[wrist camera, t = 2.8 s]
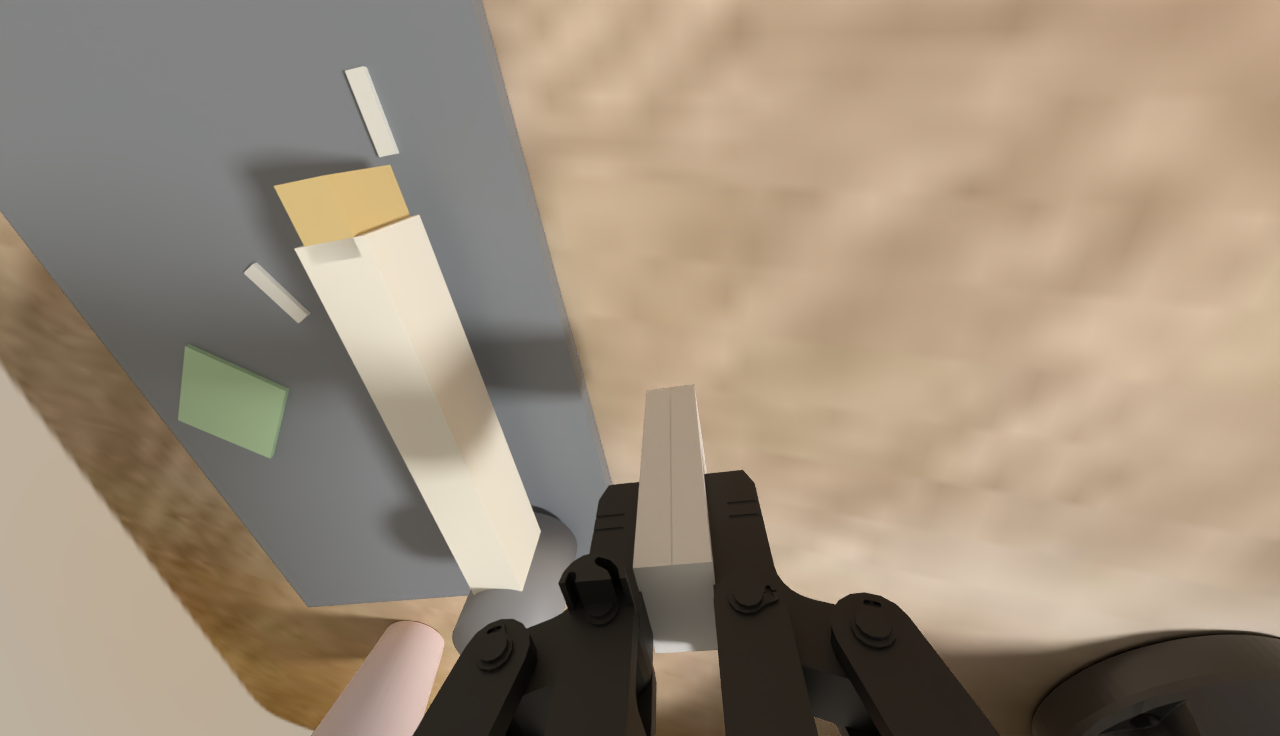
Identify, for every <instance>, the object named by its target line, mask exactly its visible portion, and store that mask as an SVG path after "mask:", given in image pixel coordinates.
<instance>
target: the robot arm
mask: <svg viewBox="0 0 1280 736" xmlns="http://www.w3.org/2000/svg"><path fill="white" fill-rule="evenodd" d="M558 584H559V587H560V589H561V592H562V594H563V597H564V600H565V602H566V605H567V607H568V609H566V610H565V611H564V612H563V613H561V614H560V615H558V616H556V617H554V618H552V619H549V620H547V621H544V622H542V623H539V624H537V625H534V626H531V627H529V628H526V627H525V626H524V624H523V623H521V622H519V621H517V620H515V619H500V620H497V621H495V622H492V623H489V624H488V625H486V626H485V627H484V628H482V629H481V630H480V631H478V632H477V633H476V634H475V635H474V636H473V638H472V639H471V640H470V641H469V643H468V644H467V645H466V647H465V649H464V650H463V652H462V654H461V655H460V657H459V659H458V660H457V662H456V664H455V665H454V667H453V669H452V670H451V672H450V674H449V675H448V677H447V679H446V680H445V682H444V684H443V685H442V687H441V689H440V690H439V692H438V694H437V695H436V697H435V699H434V700H433V702H432V704H431V705H430V707H429V709H428V710H427V712H426V714H425V715H424V717H423V719H422V720H421V722H420V724H419V725H418V727H417V729H416V730H415V732H414V734H413V735H412V736H656V677H655V671H654V668H653V643H654V647H655V651H656V653H670V652H688V651H706V650H718V656H719V667H720V678H721V689H722V699H723V710H724V721H725V732H726V736H818V733H817V729H816V725H815V720H814V716H815V717H818V718H821V719H824V720H827V721H830V722H833V723H836V725H837V727H838V729H839V731H840V733H841V735H842V736H1000V735H999V733H998V732H997V731H996V729H995V728H994V727H993V726H992V724H991V723H990V722H989V720H988V719H987V718H986V716H985V715H984V714H983V713H982V711H981V710H980V709H979V707H978V706H977V705H976V703H975V702H974V701H973V700H972V698H971V697H970V696H969V694H968V693H967V692H966V690H965V689H964V688H963V687H962V685H961V684H960V683H959V681H958V680H957V679H956V677H955V676H954V675H953V673H952V672H951V671H950V670H949V668H948V667H947V666H946V664H945V663H944V662H943V660H942V659H941V658H940V657H939V655H938V654H937V653H936V651H935V650H934V649H933V647H932V646H931V645H930V644H929V642H928V641H927V640H926V638H925V637H924V636H923V634H922V633H921V632H920V631H919V629H918V628H917V627H916V625H915V624H914V623H913V621H912V620H911V619H910V617H909V616H908V615H907V614H906V613H905V612H904V611H903V610H902V609H900V608H899V607H898V606H897V605H896V604H895V603H893V602H891V601H889V600H887V599H885V598H884V597H882V596H878V595H874V594H869V593H855V594H849V595H848V596H846V597H844V598H842V599H840V600H839V601H838V602H837V604H836V605H835V604H830V603H826V602H822V601H817V600H813V599H810V598H807V597H804V596H801V595H800V594H798V593H796V592H794V591H793V590H791V589H790V588H789V587H788V586H787V585H785V584H784V583H783V582H782V580H781V579H780V577H779V576H778V575H777V572H776V569H775V567H774V563H773V559H772V555H771V551H770V546H769V542H768V538H767V534H766V530H765V525H764V521H763V517H762V513H761V509H760V504H759V501H758V496H757V492H756V488H755V483H754V482H753V481H752V480H751V479H750V478H749V476H748V475H747V474H746V473H745V472H744V471H743V470H738V471H729V472H719V473H710V474H707V473H706V464H705V455H704V448H703V441H702V435H701V428H700V421H699V414H698V407H697V401H696V394H695V387H694V384H693V385H685V386H677V387H670V388H662V389H654V390H647V391H646V403H645V416H644V429H643V442H642V455H641V468H640V481H639V482H636V483H626V484H616V485H609V486H608V487H607V489H606V490H605V492H604V493H603V495H602V496H601V498H600V499H599V502H598V508H597V513H596V519H595V525H594V533H593V536H592V541H591V547H590V552H589V554H586V555H583V556H582V557H580V558H578V559H577V560H575V561H573V562H572V563H571V564H570V565H569V566H568V567H567V568H566V569H565V570H564V572H563V574H562V576H561V578H560V580H559V583H558ZM1032 735H1033V736H1280V639H1276V638H1270V637H1264V636H1254V635H1210V636H1199V637H1190V638H1183V639H1177V640H1172V641H1167V642H1162V643H1157V644H1153V645H1149V646H1145V647H1142V648H1138V649H1135V650H1131V651H1128V652H1125V653H1122V654H1120V655H1117V656H1114V657H1111V658H1109V659H1107V660H1104V661H1102V662H1099V663H1097V664H1095V665H1093V666H1091V667H1089V668H1087V669H1085V670H1083V671H1081V672H1079V673H1078V674H1076V675H1074V676H1073V677H1071V678H1069V679H1068V680H1066V681H1065V682H1064V683H1062V684H1061V685H1059V686H1058V687H1057V688H1056V689H1055V690H1053V691H1052V692H1051V693H1050V694H1049V695H1048V696H1047V697H1046V698H1045V699H1044V700H1043V702H1042V703H1041V704H1040V706H1039V707H1038V709H1037V710H1036V712H1035V714H1034V717H1033V720H1032Z"/></svg>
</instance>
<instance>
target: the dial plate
mask: <svg viewBox="0 0 1280 736" xmlns="http://www.w3.org/2000/svg"><path fill="white" fill-rule="evenodd" d="M385 165H391V168H392V170H393V173H394V176H395V178H396V181H397V183H398V186H399V188H400V191H401V193H402V196H403V199H404V201H405V204H406V206H407V209H408V211H409V214H410V216H414V215H420V218H421V220H422V223H423V225H424V228H425V231H426V233H427V236H428V238H429V241H430V244H431V246H432V249H433V252H434V254H435V257H436V259H437V262H438V265H439V267H440V270H441V272H442V275H443V278H444V280H445V283H446V285H447V288H448V291H449V293H450V296H451V298H452V301H453V304H454V306H455V309H456V311H457V314H458V317H459V319H460V322H461V325H462V327H463V330H464V332H465V335H466V338H467V340H468V343H469V345H470V348H471V351H472V353H473V356H474V358H475V361H476V364H477V366H478V369H479V371H480V374H481V377H482V379H483V382H484V384H485V387H486V390H487V392H488V395H489V397H490V400H491V403H492V405H493V408H494V411H495V413H496V416H497V418H498V421H499V424H500V426H501V429H502V431H503V434H504V437H505V439H506V442H507V444H508V447H509V450H510V452H511V455H512V457H513V460H514V463H515V465H516V468H517V470H518V473H519V476H520V478H521V481H522V484H523V486H524V489H525V491H526V494H527V497H528V499H529V502H530V504H531V507H532V510H533V512H534V513H541V514H545V515H548V516H551V517H553V518H556V519H557V520H559V521H561V522H562V523H564V524H565V525H566V526H567V527H568V528H569V529H570V530H571V531H572V533H573V534H574V536H575V538H576V541H577V552H576V557H575V560H577V559H578V558H580V557H582V556H583V555H586V554H589V552H590V547H591V541H592V536H593V533H594V525H595V519H596V513H597V508H598V502H599V499H600V498H601V496H602V495H603V493H604V492H605V490H606V489H607V487H608V486H609V485H612V481H611V477H610V474H609V470H608V466H607V463H606V459H605V455H604V452H603V448H602V444H601V440H600V437H599V433H598V429H597V426H596V422H595V418H594V415H593V411H592V407H591V403H590V400H589V396H588V392H587V389H586V385H585V381H584V378H583V374H582V370H581V366H580V363H579V359H578V355H577V352H576V348H575V344H574V341H573V337H572V333H571V329H570V326H569V322H568V318H567V315H566V311H565V307H564V304H563V300H562V296H561V292H560V289H559V285H558V281H557V278H556V274H555V270H554V266H553V263H552V259H551V255H550V252H549V248H548V244H547V241H546V237H545V233H544V229H543V226H542V222H541V218H540V215H539V211H538V207H537V204H536V200H535V196H534V192H533V189H532V185H531V181H530V178H529V174H528V170H527V167H526V163H525V159H524V155H523V152H522V148H521V144H520V141H519V137H518V133H517V130H516V126H515V122H514V118H513V115H512V111H511V107H510V104H509V100H508V96H507V93H506V89H505V85H504V81H503V78H502V74H501V70H500V67H499V63H498V59H497V56H496V52H495V48H494V44H493V41H492V37H491V33H490V30H489V26H488V22H487V19H486V15H485V11H484V7H483V4H482V0H0V211H1V213H2V214H3V215H4V217H5V218H6V219H7V220H8V222H9V223H10V224H11V226H12V227H13V228H14V229H15V231H16V232H17V233H18V235H19V236H20V237H21V238H22V240H23V241H24V242H25V244H26V245H27V246H28V248H29V249H30V250H31V251H32V253H33V254H34V255H35V257H36V258H37V259H38V260H39V262H40V263H41V264H42V266H43V267H44V268H45V269H46V271H47V272H48V273H49V275H50V276H51V277H52V278H53V280H54V281H55V282H56V284H57V285H58V286H59V287H60V289H61V290H62V291H63V293H64V294H65V295H66V296H67V298H68V299H69V300H70V302H71V303H72V304H73V305H74V307H75V308H76V309H77V311H78V312H79V313H80V314H81V316H82V317H83V318H84V320H85V321H86V322H87V323H88V325H89V326H90V327H91V329H92V330H93V331H94V332H95V334H96V335H97V336H98V338H99V339H100V340H101V341H102V343H103V344H104V345H105V347H106V348H107V349H108V350H109V352H110V353H111V354H112V356H113V357H114V358H115V359H116V361H117V362H118V363H119V365H120V366H121V367H122V368H123V370H124V371H125V372H126V374H127V375H128V376H129V377H130V379H131V380H132V381H133V383H134V384H135V385H136V387H137V388H138V389H139V390H140V392H141V393H142V394H143V396H144V397H145V398H146V399H147V401H148V402H149V403H150V405H151V406H152V407H153V408H154V410H155V411H156V412H157V414H158V415H159V416H160V417H161V419H162V420H163V421H164V423H165V424H166V425H167V426H168V428H169V429H170V430H171V432H172V433H173V434H174V435H175V437H176V438H177V439H178V441H179V442H180V443H181V444H182V446H183V447H184V448H185V450H186V451H187V452H188V453H189V455H190V456H191V457H192V459H193V460H194V461H195V462H196V464H197V465H198V466H199V468H200V469H201V470H202V471H203V473H204V474H205V475H206V477H207V478H208V479H209V480H210V482H211V483H212V484H213V486H214V487H215V488H216V489H217V491H218V492H219V493H220V495H221V496H222V497H223V498H224V500H225V501H226V502H227V504H228V505H229V506H230V507H231V509H232V510H233V511H234V513H235V514H236V515H237V517H238V518H239V519H240V520H241V522H242V523H243V524H244V526H245V527H246V528H247V529H248V531H249V532H250V533H251V535H252V536H253V537H254V538H255V540H256V541H257V542H258V544H259V545H260V546H261V547H262V549H263V550H264V551H265V553H266V554H267V555H268V556H269V558H270V559H271V560H272V562H273V563H274V564H275V565H276V567H277V568H278V569H279V571H280V572H281V573H282V574H283V576H284V577H285V578H286V580H287V581H288V582H289V583H290V585H291V586H292V587H293V589H294V590H295V591H296V592H297V594H298V595H299V596H300V598H301V599H302V600H303V601H304V603H305V604H306V605H307V607H319V606H332V605H345V604H359V603H372V602H386V601H399V600H413V599H426V598H440V597H453V596H467V595H469V593H470V591H471V589H470V587H469V585H468V583H467V581H466V579H465V577H464V575H463V573H462V571H461V569H460V567H459V565H458V564H457V562H456V560H455V558H454V556H453V554H452V552H451V550H450V548H449V546H448V544H447V542H446V540H445V538H444V537H443V535H442V533H441V531H440V529H439V527H438V525H437V523H436V521H435V519H434V517H433V515H432V513H431V511H430V510H429V508H428V506H427V504H426V502H425V500H424V498H423V496H422V494H421V492H420V490H419V488H418V486H417V484H416V483H415V481H414V479H413V477H412V475H411V473H410V471H409V469H408V467H407V465H406V463H405V461H404V459H403V457H402V456H401V454H400V452H399V450H398V448H397V446H396V444H395V442H394V440H393V438H392V436H391V434H390V432H389V430H388V429H387V427H386V425H385V423H384V421H383V419H382V417H381V415H380V413H379V411H378V409H377V407H376V405H375V403H374V402H373V400H372V398H371V396H370V394H369V392H368V390H367V388H366V386H365V384H364V382H363V380H362V378H361V376H360V375H359V373H358V371H357V369H356V367H355V365H354V363H353V361H352V359H351V357H350V355H349V353H348V351H347V349H346V348H345V346H344V344H343V342H342V340H341V338H340V336H339V334H338V332H337V330H336V328H335V326H334V324H333V322H332V321H331V319H330V317H329V315H328V313H327V311H326V309H325V307H324V305H323V303H322V301H321V299H320V297H319V295H318V294H317V292H316V290H315V288H314V286H313V284H312V282H311V280H310V278H309V276H308V274H307V272H306V270H305V268H304V267H303V265H302V263H301V261H300V259H299V257H298V255H297V253H296V251H295V248H297V247H300V246H303V243H302V241H301V239H300V237H299V235H298V233H297V231H296V229H295V227H294V225H293V223H292V221H291V219H290V217H289V215H288V213H287V211H286V209H285V207H284V205H283V203H282V201H281V200H280V198H279V196H278V194H277V192H276V190H275V188H274V186H276V185H281V184H285V183H290V182H295V181H300V180H304V179H309V178H314V177H319V176H323V175H329V174H335V173H342V172H348V171H354V170H360V169H367V168H373V167H379V166H385Z"/></svg>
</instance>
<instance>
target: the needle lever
mask: <svg viewBox="0 0 1280 736" xmlns="http://www.w3.org/2000/svg"><path fill="white" fill-rule="evenodd" d="M274 188H275V190H276V192H277V194H278V196H279V198H280V200H281V201H282V203H283V205H284V207H285V209H286V211H287V213H288V215H289V217H290V219H291V221H292V223H293V225H294V227H295V229H296V231H297V233H298V235H299V237H300V239H301V241H302V243H303V246H300V247H297V248H295V251H296V253H297V255H298V257H299V259H300V261H301V263H302V265H303V267H304V268H305V270H306V272H307V274H308V276H309V278H310V280H311V282H312V284H313V286H314V288H315V290H316V292H317V294H318V295H319V297H320V299H321V301H322V303H323V305H324V307H325V309H326V311H327V313H328V315H329V317H330V319H331V321H332V322H333V324H334V326H335V328H336V330H337V332H338V334H339V336H340V338H341V340H342V342H343V344H344V346H345V348H346V349H347V351H348V353H349V355H350V357H351V359H352V361H353V363H354V365H355V367H356V369H357V371H358V373H359V375H360V376H361V378H362V380H363V382H364V384H365V386H366V388H367V390H368V392H369V394H370V396H371V398H372V400H373V402H374V403H375V405H376V407H377V409H378V411H379V413H380V415H381V417H382V419H383V421H384V423H385V425H386V427H387V429H388V430H389V432H390V434H391V436H392V438H393V440H394V442H395V444H396V446H397V448H398V450H399V452H400V454H401V456H402V457H403V459H404V461H405V463H406V465H407V467H408V469H409V471H410V473H411V475H412V477H413V479H414V481H415V483H416V484H417V486H418V488H419V490H420V492H421V494H422V496H423V498H424V500H425V502H426V504H427V506H428V508H429V510H430V511H431V513H432V515H433V517H434V519H435V521H436V523H437V525H438V527H439V529H440V531H441V533H442V535H443V537H444V538H445V540H446V542H447V544H448V546H449V548H450V550H451V552H452V554H453V556H454V558H455V560H456V562H457V564H458V565H459V567H460V569H461V571H462V573H463V575H464V577H465V579H466V581H467V583H468V585H469V587H470V589H471V591H470V593H469V595H468V598H467V600H466V602H465V605H464V607H463V609H462V612H461V614H460V617H459V619H458V621H457V624H456V626H455V628H454V631H453V635H452V639H453V644H454V646H455V648H456V650H457V651H458V652H459V654H460V655H461V654H462V652H463V650H464V649H465V647H466V645H467V644H468V643H469V641H470V640H471V639H472V638H473V636H474V635H475V634H476V633H477V632H478V631H480V630H481V629H482V628H484V627H485V626H486V625H488V624H489V623H492V622H495V621H497V620H500V619H515V620H517V621H519V622H521V623H523V624H524V626H525V627H526V628H529V627H531V626H534V625H537V624H539V623H542V622H544V621H547V620H549V619H552V618H554V617H556V616H558V615H560V614H561V613H563V612H564V608H565V604H566V602H565V600H564V597H563V594H562V592H561V589H560V587H559V584H558V583H559V580H560V578H561V576H562V574H563V572H564V570H565V569H566V568H567V567H568V566H569V565H570V564H571V563H572V562H573V561H575V557H576V552H577V541H576V538H575V536H574V534H573V533H572V531H571V530H570V529H569V528H568V527H567V526H566V525H565V524H564V523H562V522H561V521H559V520H557V519H556V518H553V517H551V516H548V515H545V514H541V513H534V512H533V510H532V507H531V504H530V502H529V499H528V497H527V494H526V491H525V489H524V486H523V484H522V481H521V478H520V476H519V473H518V470H517V468H516V465H515V463H514V460H513V457H512V455H511V452H510V450H509V447H508V444H507V442H506V439H505V437H504V434H503V431H502V429H501V426H500V424H499V421H498V418H497V416H496V413H495V411H494V408H493V405H492V403H491V400H490V397H489V395H488V392H487V390H486V387H485V384H484V382H483V379H482V377H481V374H480V371H479V369H478V366H477V364H476V361H475V358H474V356H473V353H472V351H471V348H470V345H469V343H468V340H467V338H466V335H465V332H464V330H463V327H462V325H461V322H460V319H459V317H458V314H457V311H456V309H455V306H454V304H453V301H452V298H451V296H450V293H449V291H448V288H447V285H446V283H445V280H444V278H443V275H442V272H441V270H440V267H439V265H438V262H437V259H436V257H435V254H434V252H433V249H432V246H431V244H430V241H429V238H428V236H427V233H426V231H425V228H424V225H423V223H422V220H421V218H420V215H414V216H410V214H409V211H408V209H407V206H406V204H405V201H404V199H403V196H402V193H401V191H400V188H399V186H398V183H397V181H396V178H395V176H394V173H393V170H392V168H391V165H385V166H379V167H373V168H367V169H360V170H354V171H348V172H342V173H335V174H329V175H323V176H319V177H314V178H309V179H304V180H300V181H295V182H290V183H285V184H281V185H276V186H274Z"/></svg>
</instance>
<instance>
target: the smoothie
mask: <svg viewBox="0 0 1280 736" xmlns="http://www.w3.org/2000/svg"><path fill="white" fill-rule="evenodd" d="M443 649H444V640H443V638H442V636H441V635H440V634H439V633H438V632H437V631H436V630H434V629H433V628H431V627H429V626H427V625H425V624H422V623H419V622H414V621H399V622H395V623H393V624H391V625H390V626H389V627H388V628H387V629H386V631H385V632H384V633H383V635H382V636H381V638H380V639H379V641H378V642H377V643H376V645H375V646H374V648H373V649H372V650H371V652H370V653H369V655H368V656H367V657H366V659H365V660H364V662H363V663H362V665H361V666H360V667H359V669H358V670H357V672H356V673H355V674H354V676H353V677H352V679H351V680H350V681H349V683H348V684H347V686H346V687H345V689H344V690H343V691H342V693H341V694H340V696H339V697H338V698H337V700H336V701H335V703H334V704H333V705H332V707H331V708H330V710H329V711H328V713H327V714H326V715H325V717H324V718H323V720H322V721H321V722H320V724H319V725H318V727H317V728H316V729H315V731H314V732H313V734H312V735H311V736H412V735H413V734H414V732H415V730H416V729H417V727H418V725H419V724H420V722H421V720H422V719H423V716H424V713H425V709H426V706H427V703H428V699H429V696H430V693H431V689H432V686H433V683H434V679H435V676H436V672H437V669H438V666H439V662H440V659H441V656H442V652H443Z"/></svg>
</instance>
